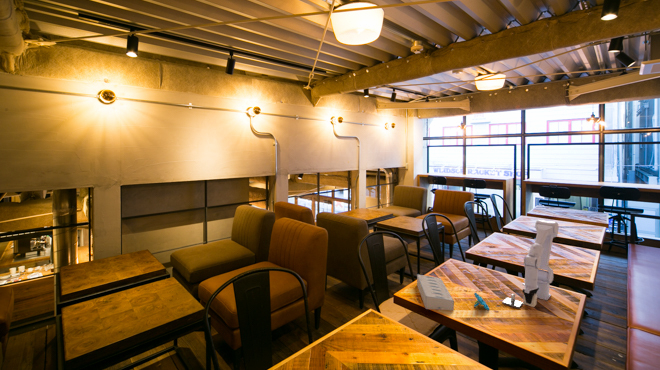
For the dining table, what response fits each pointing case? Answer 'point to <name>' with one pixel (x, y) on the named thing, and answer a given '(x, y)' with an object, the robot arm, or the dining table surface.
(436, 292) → the warehouse
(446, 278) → the dining table surface
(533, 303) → the square tube cup
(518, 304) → the shaft block
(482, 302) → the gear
